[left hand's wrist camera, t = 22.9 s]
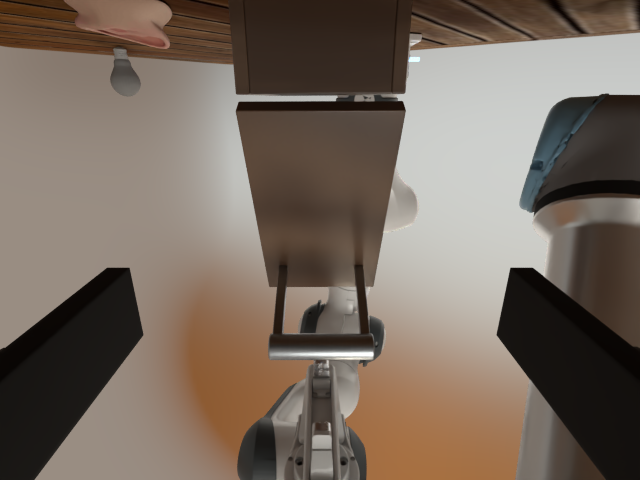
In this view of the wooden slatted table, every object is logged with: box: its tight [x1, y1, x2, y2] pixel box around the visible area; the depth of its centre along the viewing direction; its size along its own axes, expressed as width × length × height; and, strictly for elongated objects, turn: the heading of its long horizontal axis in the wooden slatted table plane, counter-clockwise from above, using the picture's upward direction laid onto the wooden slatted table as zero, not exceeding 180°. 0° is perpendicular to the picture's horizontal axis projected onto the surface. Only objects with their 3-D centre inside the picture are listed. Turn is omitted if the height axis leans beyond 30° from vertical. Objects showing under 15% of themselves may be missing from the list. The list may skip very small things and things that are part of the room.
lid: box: [236, 101, 406, 360], centre depth 24 cm, size 17×9×9 cm
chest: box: [228, 0, 412, 96], centre depth 26 cm, size 16×9×10 cm, turn 0°
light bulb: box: [110, 47, 141, 96], centre depth 81 cm, size 6×6×10 cm
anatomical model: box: [64, 0, 172, 49], centre depth 44 cm, size 13×4×12 cm
